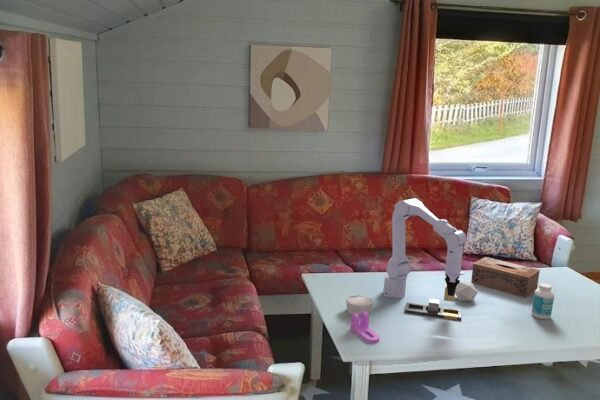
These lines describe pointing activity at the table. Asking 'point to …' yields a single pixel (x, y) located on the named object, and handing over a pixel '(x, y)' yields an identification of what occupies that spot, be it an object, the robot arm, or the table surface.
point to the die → (466, 291)
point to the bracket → (363, 327)
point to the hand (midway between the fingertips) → (450, 293)
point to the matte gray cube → (433, 305)
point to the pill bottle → (543, 301)
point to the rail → (423, 310)
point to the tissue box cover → (505, 276)
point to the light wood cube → (448, 298)
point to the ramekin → (359, 304)
